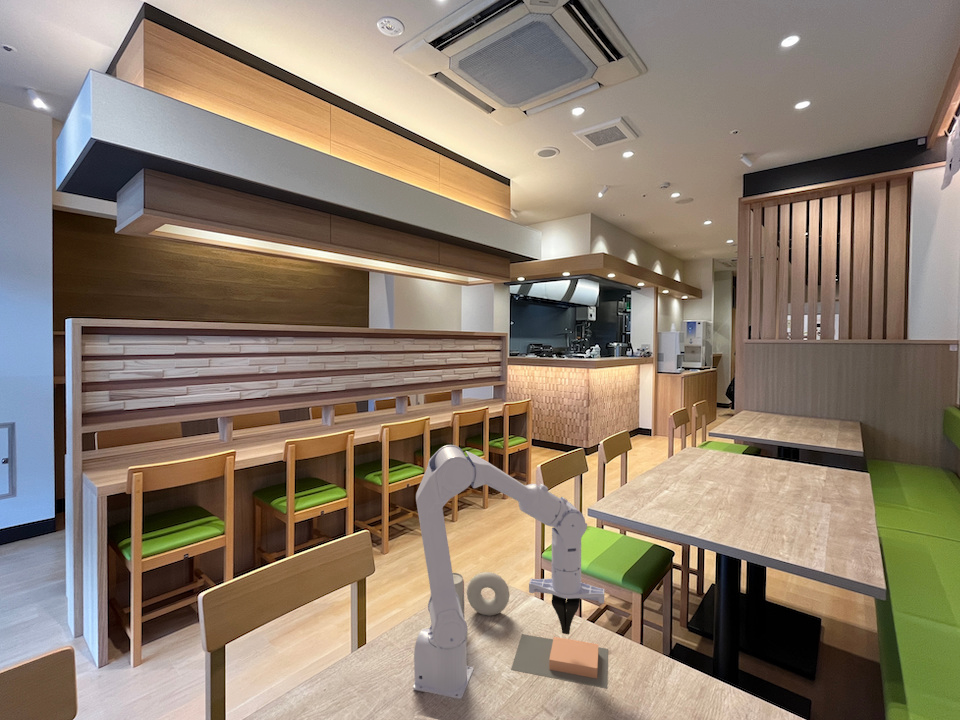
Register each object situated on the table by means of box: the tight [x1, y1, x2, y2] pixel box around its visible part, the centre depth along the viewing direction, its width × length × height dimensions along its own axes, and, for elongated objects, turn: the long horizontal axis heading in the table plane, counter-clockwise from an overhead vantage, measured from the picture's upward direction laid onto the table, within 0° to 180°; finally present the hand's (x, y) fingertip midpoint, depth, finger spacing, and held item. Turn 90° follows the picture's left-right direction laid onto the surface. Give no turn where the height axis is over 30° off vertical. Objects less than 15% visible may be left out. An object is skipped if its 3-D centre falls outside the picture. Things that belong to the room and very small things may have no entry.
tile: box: [549, 636, 599, 678], centre depth 93 cm, size 2×7×9 cm
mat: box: [510, 633, 609, 689], centre depth 94 cm, size 18×11×1 cm, turn 74°
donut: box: [466, 571, 510, 617], centre depth 109 cm, size 10×4×10 cm, turn 82°
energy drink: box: [452, 572, 465, 617], centre depth 103 cm, size 5×5×12 cm
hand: (566, 630), depth 93 cm, fingers closed
